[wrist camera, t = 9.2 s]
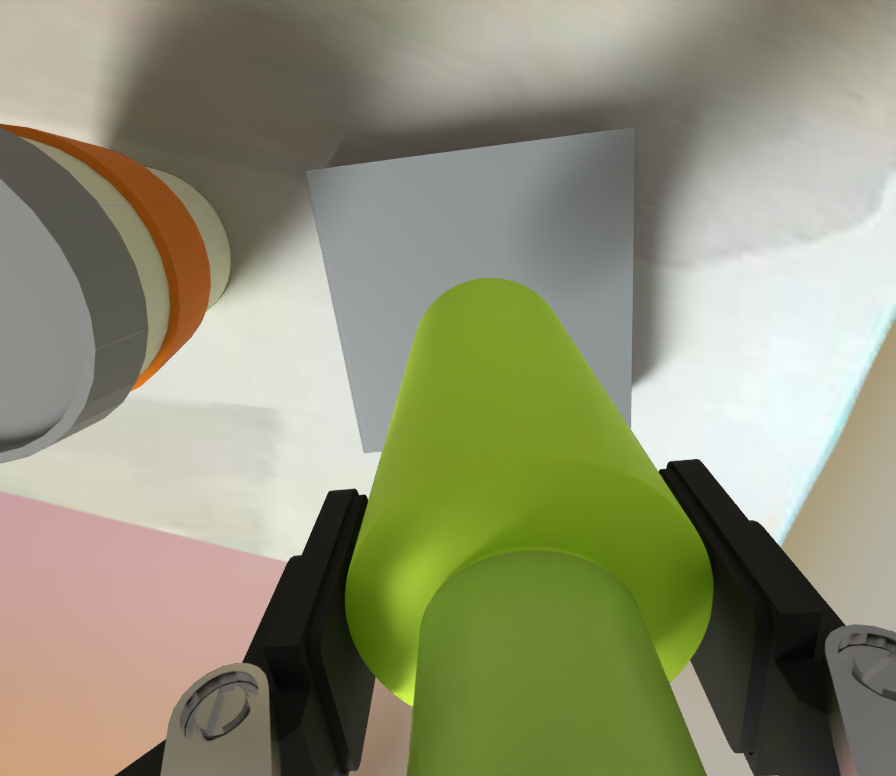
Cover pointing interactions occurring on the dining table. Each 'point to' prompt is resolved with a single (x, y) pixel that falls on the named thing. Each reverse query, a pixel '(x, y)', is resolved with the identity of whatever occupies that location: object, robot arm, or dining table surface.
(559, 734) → the soap dispenser
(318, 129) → the dining table surface
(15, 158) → the reusable coffee cup
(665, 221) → the dining table surface
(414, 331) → the stand
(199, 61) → the dining table surface
